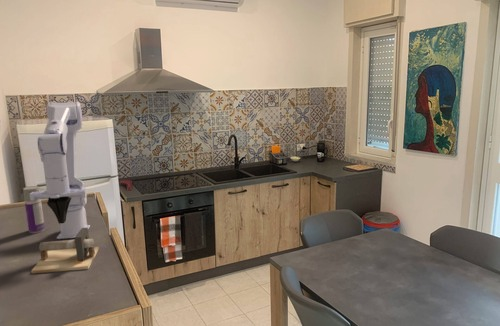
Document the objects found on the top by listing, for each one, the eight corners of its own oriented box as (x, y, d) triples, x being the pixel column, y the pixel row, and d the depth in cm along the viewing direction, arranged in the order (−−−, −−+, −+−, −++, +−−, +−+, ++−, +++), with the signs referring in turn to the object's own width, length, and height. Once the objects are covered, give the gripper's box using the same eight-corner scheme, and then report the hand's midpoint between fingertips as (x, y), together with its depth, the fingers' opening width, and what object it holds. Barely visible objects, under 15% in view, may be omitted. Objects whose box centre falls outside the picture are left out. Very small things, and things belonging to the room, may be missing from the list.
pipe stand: (48, 252, 108) (46, 234, 106) (98, 249, 110) (96, 230, 108) (31, 273, 96) (28, 252, 95) (88, 268, 98) (85, 248, 97)
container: (26, 231, 123) (19, 188, 120) (39, 226, 127) (33, 185, 124) (34, 234, 121) (28, 190, 117) (48, 229, 125) (42, 186, 121)
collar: (84, 249, 107) (81, 227, 105) (90, 249, 107) (87, 227, 106) (77, 260, 100) (74, 237, 99) (83, 260, 101) (81, 237, 99)
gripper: (22, 181, 98) (29, 229, 101) (80, 178, 100) (85, 225, 103) (33, 175, 105) (39, 219, 108) (86, 172, 107) (91, 216, 110)
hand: (62, 222), depth 106 cm, fingers closed
